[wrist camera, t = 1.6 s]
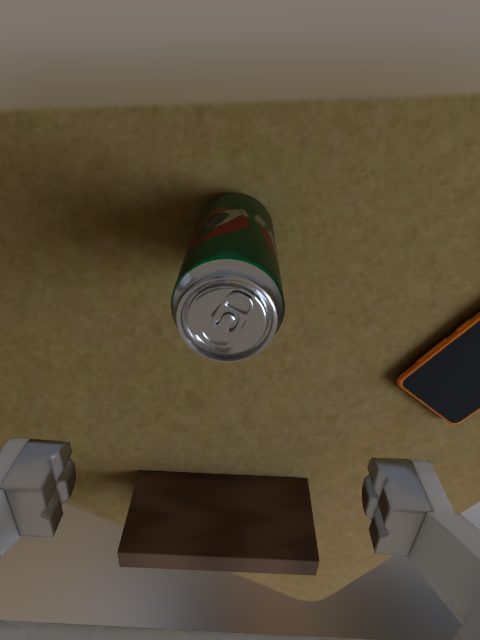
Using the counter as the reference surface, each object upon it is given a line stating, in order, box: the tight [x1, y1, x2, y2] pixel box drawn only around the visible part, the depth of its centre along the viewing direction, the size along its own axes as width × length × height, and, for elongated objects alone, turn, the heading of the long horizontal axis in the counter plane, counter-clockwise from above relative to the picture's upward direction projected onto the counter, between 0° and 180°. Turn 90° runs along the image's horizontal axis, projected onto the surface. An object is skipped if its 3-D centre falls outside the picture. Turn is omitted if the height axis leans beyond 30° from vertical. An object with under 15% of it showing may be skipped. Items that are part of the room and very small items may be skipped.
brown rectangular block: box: [117, 471, 319, 575], centre depth 39 cm, size 16×5×8 cm, turn 87°
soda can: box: [171, 193, 285, 362], centre depth 23 cm, size 5×5×12 cm
